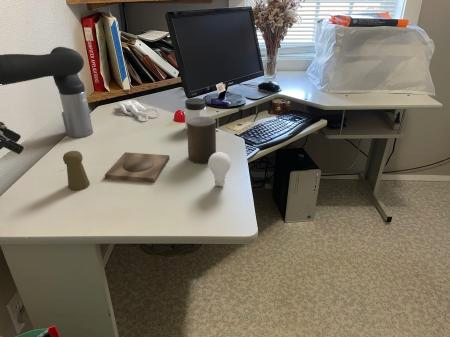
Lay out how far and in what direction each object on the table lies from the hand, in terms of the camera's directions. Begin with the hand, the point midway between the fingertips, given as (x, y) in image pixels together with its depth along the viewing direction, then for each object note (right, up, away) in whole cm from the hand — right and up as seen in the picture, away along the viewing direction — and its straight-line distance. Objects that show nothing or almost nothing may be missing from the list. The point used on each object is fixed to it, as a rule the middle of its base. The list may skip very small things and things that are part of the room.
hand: (20, 144), depth 90 cm
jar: (+42, +10, +54) cm, 69 cm away
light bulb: (+52, -12, +13) cm, 55 cm away
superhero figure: (+12, +19, +71) cm, 74 cm away
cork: (+10, -12, +13) cm, 20 cm away
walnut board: (+26, -6, +23) cm, 35 cm away
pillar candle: (+46, -3, +30) cm, 55 cm away
